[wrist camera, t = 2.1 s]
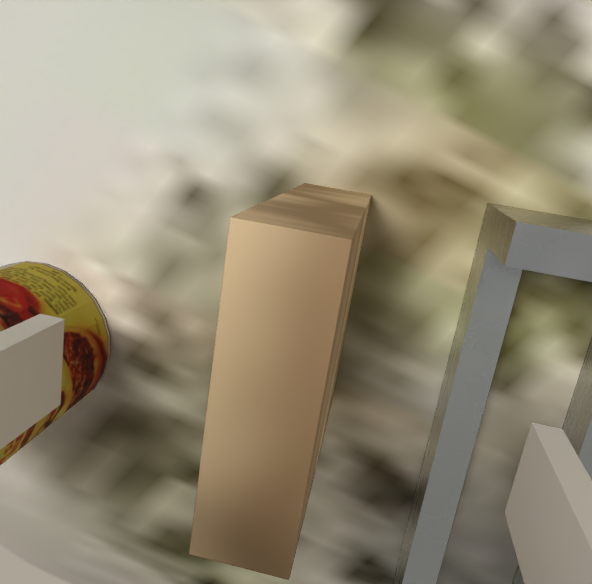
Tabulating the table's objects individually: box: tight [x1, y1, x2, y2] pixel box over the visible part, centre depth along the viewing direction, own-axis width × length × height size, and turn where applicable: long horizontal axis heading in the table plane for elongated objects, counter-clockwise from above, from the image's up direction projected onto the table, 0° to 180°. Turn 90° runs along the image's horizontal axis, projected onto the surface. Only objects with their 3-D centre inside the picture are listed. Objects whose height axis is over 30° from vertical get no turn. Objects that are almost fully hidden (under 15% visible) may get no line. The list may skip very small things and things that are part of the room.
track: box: [393, 203, 592, 584], centre depth 24 cm, size 7×21×6 cm, turn 171°
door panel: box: [189, 183, 371, 580], centre depth 21 cm, size 3×10×12 cm, turn 171°
